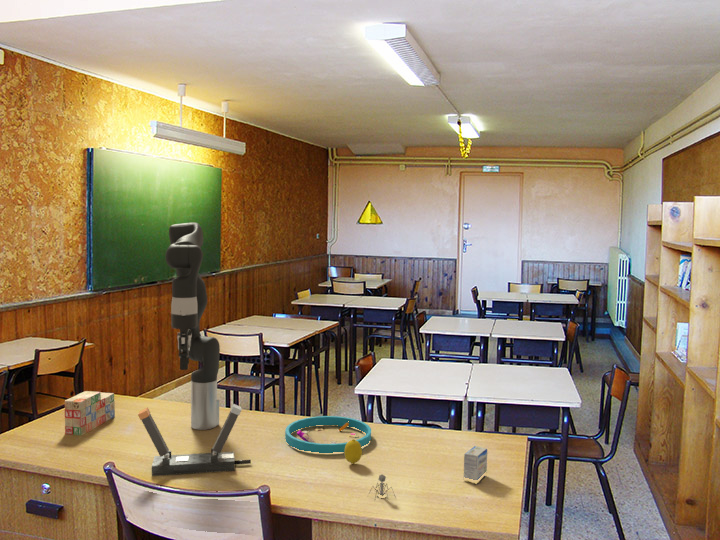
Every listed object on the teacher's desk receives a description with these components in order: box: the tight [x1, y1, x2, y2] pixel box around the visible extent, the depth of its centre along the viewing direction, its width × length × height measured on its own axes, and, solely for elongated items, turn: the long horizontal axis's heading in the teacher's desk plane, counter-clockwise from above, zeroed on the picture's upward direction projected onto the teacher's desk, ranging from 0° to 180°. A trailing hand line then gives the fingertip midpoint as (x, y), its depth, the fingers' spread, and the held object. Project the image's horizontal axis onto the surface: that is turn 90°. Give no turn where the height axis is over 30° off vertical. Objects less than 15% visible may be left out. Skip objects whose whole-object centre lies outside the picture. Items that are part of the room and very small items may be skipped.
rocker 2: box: [212, 403, 243, 455], centre depth 193 cm, size 3×4×17 cm, turn 13°
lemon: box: [344, 438, 363, 464], centre depth 198 cm, size 6×6×8 cm
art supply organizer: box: [284, 415, 372, 453], centre depth 220 cm, size 30×30×6 cm
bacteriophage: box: [368, 474, 396, 499], centre depth 175 cm, size 7×8×7 cm
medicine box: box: [463, 445, 488, 480], centre depth 189 cm, size 8×4×9 cm, turn 148°
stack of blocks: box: [64, 390, 116, 436], centre depth 228 cm, size 21×6×12 cm, turn 170°
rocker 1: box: [137, 407, 170, 458], centre depth 189 cm, size 3×4×17 cm, turn 12°
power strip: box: [151, 447, 252, 477], centre depth 192 cm, size 29×8×5 cm, turn 102°
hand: (184, 366), depth 189 cm, fingers open, 5 cm apart
